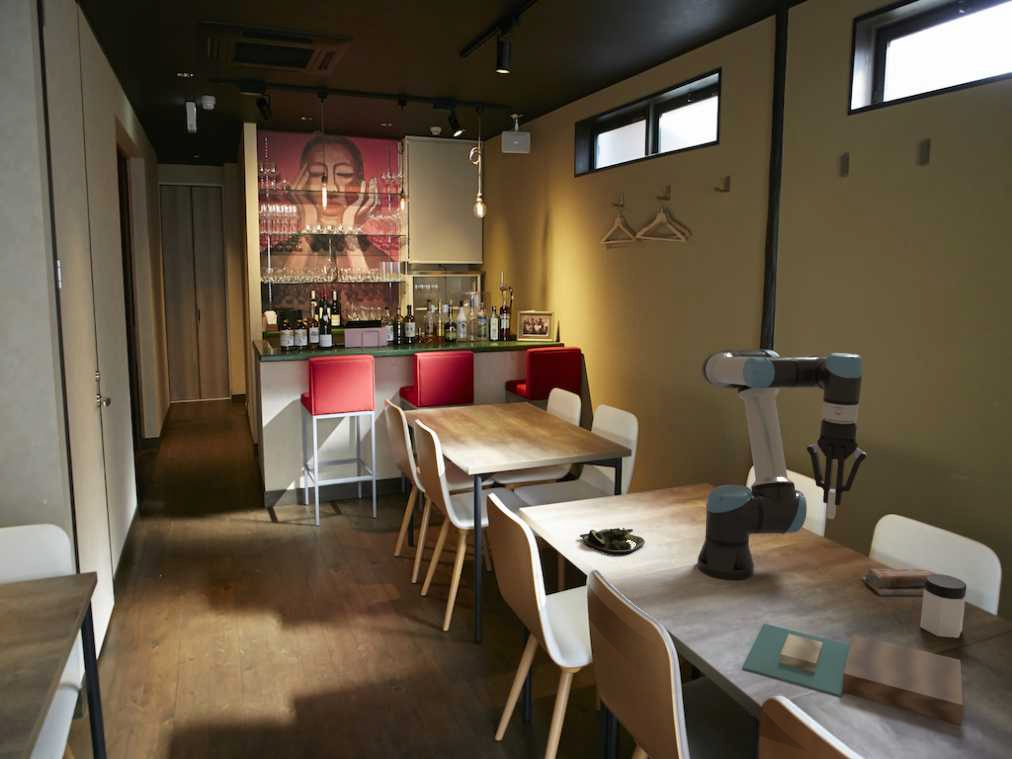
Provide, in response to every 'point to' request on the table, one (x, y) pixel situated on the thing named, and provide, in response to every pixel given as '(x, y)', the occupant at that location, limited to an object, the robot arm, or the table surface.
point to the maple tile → (801, 652)
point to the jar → (943, 605)
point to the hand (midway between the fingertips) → (830, 516)
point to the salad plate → (612, 541)
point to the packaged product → (897, 581)
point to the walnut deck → (904, 678)
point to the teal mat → (768, 663)
